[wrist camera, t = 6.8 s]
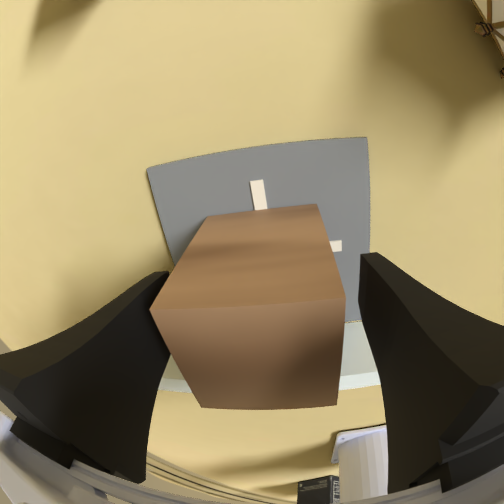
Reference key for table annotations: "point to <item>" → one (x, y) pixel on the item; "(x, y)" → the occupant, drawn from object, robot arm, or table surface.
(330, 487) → the small box
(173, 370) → the frosted wall
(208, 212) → the pad
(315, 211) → the walnut block
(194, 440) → the table surface
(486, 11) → the game die
